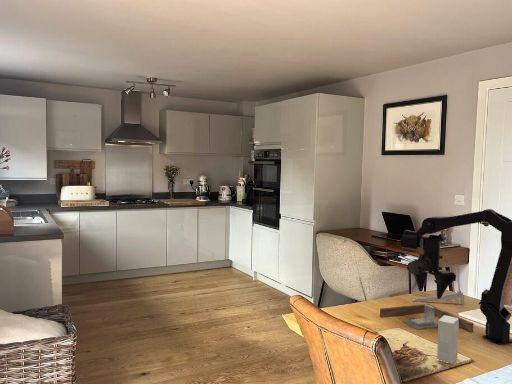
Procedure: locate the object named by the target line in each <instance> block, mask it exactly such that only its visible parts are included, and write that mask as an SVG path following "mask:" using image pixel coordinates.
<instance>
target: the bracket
mask: <svg viewBox="0 0 512 384" xmlns="http://www.w3.org/2000/svg"><path fill="white" fill-rule="evenodd" d="M425 304H426V305H424V313H423V317H422V318H414V319H413V318H412V319H410V320H411V323H413V324H415V325H417V326H425V325H433V324H434V322H435V318H436V316H435V308H434V307H435V306H434V307H432V306H433V305H432V306H430V305H431V304H430V305H427V304H428V303H425Z"/></svg>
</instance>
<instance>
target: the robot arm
mask: <svg viewBox="0 0 512 384" xmlns="http://www.w3.org/2000/svg"><path fill="white" fill-rule="evenodd" d="M479 223H487V224H489V225H490V226H491V227H492V228H494V229H495V230H497V231H499V232H500V233H501V234H500V246H501V248H500V250H499V254H498V259H497V262H496V266H495V270H494V272H493V277H492V280H491V282H490V286H489V289H487V288H486V289H485V290H483V291H482V292H481V295H480V297H481V298H480V300H479V302H478V305H480V306H479V309H480V311H481V313H482V315H483V316H484V317H485V320H486V322H485V331H484V332H485V334H482V336H481V337H482V338H483V339H485V340H488V341H490V342H493V343H494V344H497V345H504V344H511V343H512V339H511V337H510V336H511V323H509V322H508V321H510V319H511V316H512V313H511V312H510V311H509V310H508V309H507V308H506V307H505V298H506V297H505V296H506V295H505V289H506V286H507V282H508V279H509V275H510V272H511V269H512V268H511V267H512V219H510V218H509V217H508V216H505V215H503V214H501V213H498V212H497V211H495V210H494V209H492V208H487V209H484V210H480V211H475V212H470V213H469V212H468V213H464V214H458V215H452V216H431V217H426V218H424V219H423V221H422V223H421V226H420V228H419V229H418V230H417V231H415V230H414V231H413V230H409V229H405V230H403V234H402V235H401V239H400V246H401V249H405V250H406V249H408V250H415V251H419V250H420V249H421V248H422V253H420V254H419V257H418V258H416V259H414V260H412V261H410V262H408V263H407V266H406V270H407V271H409V274H411V275H412V276H414V278H415V282H416V285H417V289H418V291H419V292H423V290H424V286H425V282H426V279H427V274H429V275H432V276H434V277H433V278H434V279H433V281H434V283H435V284H436V296H437V299H440V298H441V297H442V296H443V295H444V294H445V291H446V290H447V289H448V287H449V285H450V284H451V283H453V282H456V281H457V274H456V273H455V272H453V271H450V270H447V269H446V270H443V267H442V266H440V263H441V262H440V259H443V258H444V257H443V255H441V242H445V241H447V240H448V238H447V237H446V236H445V235H444V234H443V233H439V232H442V231H446V230H448V229H450V228H454V227H460V226H466V225H472V224H479ZM436 233H439V234H438V235H437V234H436ZM425 235H428V236H425Z"/></svg>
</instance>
